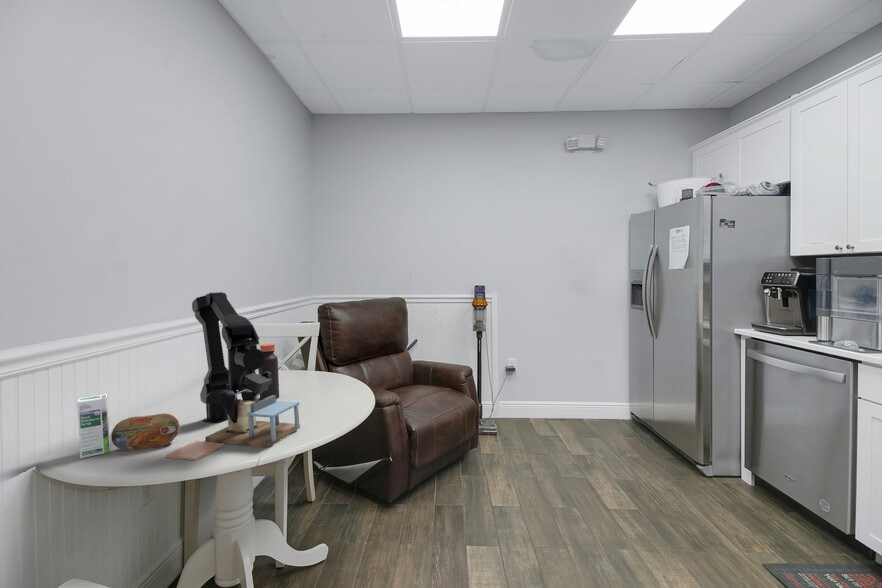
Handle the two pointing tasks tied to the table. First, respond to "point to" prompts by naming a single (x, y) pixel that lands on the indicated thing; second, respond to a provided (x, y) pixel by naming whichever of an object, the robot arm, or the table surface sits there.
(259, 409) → the light blue toy bench
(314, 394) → the table surface
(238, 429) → the maple block
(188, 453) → the terracotta tile
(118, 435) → the tin
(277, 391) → the bottle
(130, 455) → the table surface
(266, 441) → the puzzle board
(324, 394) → the table surface
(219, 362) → the robot arm
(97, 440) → the syrup box
